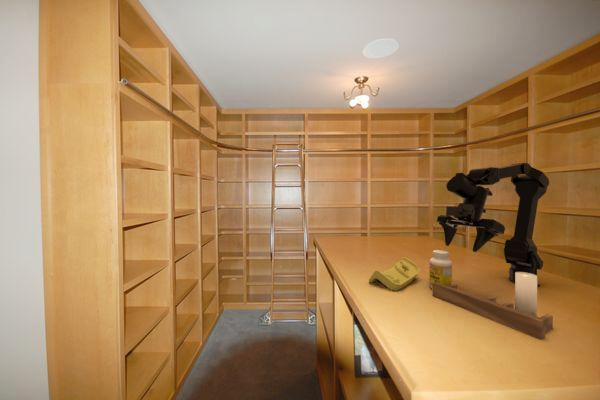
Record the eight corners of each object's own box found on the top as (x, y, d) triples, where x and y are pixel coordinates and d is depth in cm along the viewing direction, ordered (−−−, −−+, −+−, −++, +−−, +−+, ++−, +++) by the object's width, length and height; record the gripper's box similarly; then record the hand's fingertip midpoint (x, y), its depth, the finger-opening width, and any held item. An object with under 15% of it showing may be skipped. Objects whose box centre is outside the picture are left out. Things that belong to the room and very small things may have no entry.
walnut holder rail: (448, 290, 79) (449, 278, 79) (557, 329, 56) (557, 312, 56) (432, 295, 75) (432, 283, 75) (541, 339, 52) (541, 321, 52)
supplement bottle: (425, 285, 84) (425, 249, 83) (442, 284, 84) (442, 249, 84) (437, 293, 77) (437, 254, 77) (456, 292, 77) (457, 253, 77)
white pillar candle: (519, 316, 62) (519, 271, 62) (540, 323, 58) (540, 275, 58) (511, 319, 60) (512, 273, 60) (532, 327, 57) (532, 278, 56)
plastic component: (398, 286, 77) (373, 267, 84) (389, 302, 80) (366, 282, 87) (424, 269, 90) (401, 254, 96) (416, 284, 93) (394, 268, 99)
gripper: (432, 194, 84) (418, 235, 82) (487, 194, 66) (472, 246, 65) (453, 206, 87) (441, 245, 86) (512, 208, 69) (497, 258, 68)
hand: (459, 248), depth 76 cm, fingers open, 9 cm apart
